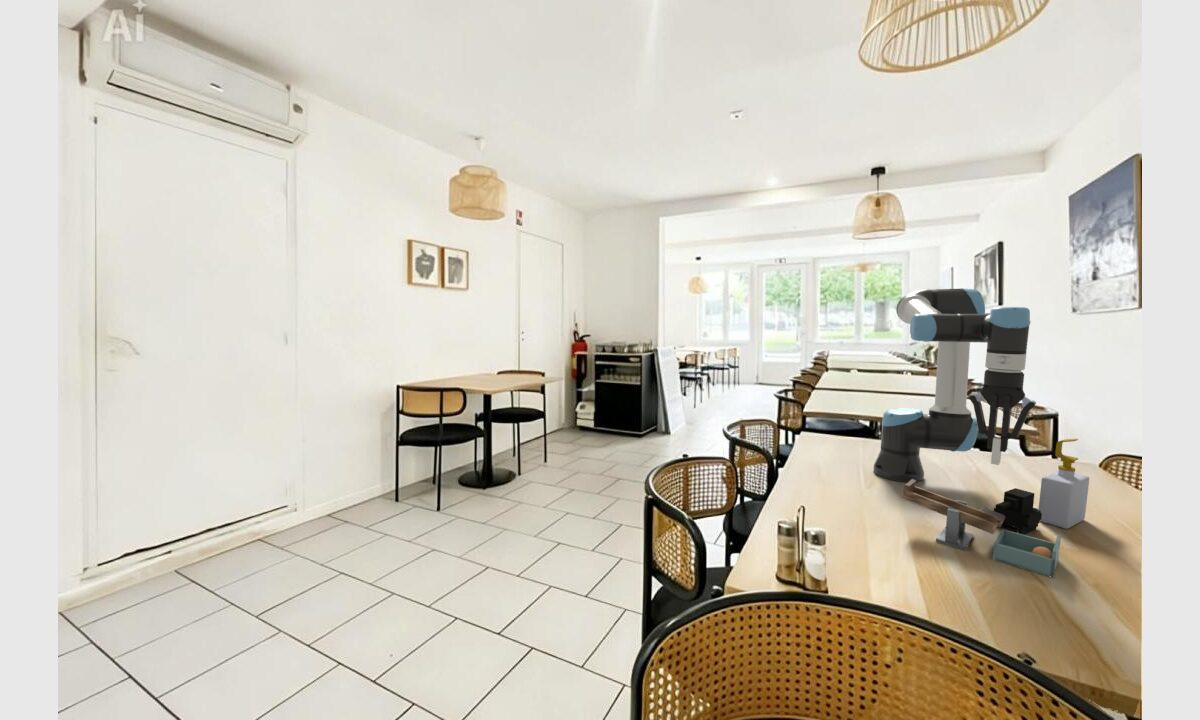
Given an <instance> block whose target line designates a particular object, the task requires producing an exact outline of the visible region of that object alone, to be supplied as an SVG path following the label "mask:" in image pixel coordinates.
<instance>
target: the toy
mask: <svg viewBox="0 0 1200 720" xmlns="http://www.w3.org/2000/svg"><path fill="white" fill-rule="evenodd" d="M1003 493H1004V494H1003V501H1002V502H999V503H996V504H995V507H993V511H995V512H997V513H1000V514H1003V515H1004V516H1005V520H1004V521H1003V523H1002V525H1001V527H997V528H999V529H1000V528H1003V527H1005V526H1010V527H1013V528H1016V533H1019V534H1023V535H1027V534H1029V533H1032V532H1034V531H1037V527H1039V524H1040V522H1041V521H1040V520H1041V518H1042V513H1041V511H1040V510H1039V508H1036V507H1034V504H1035V502H1034V501H1035V493H1034V492H1030V491H1027V490H1025V489H1020V488H1012V489H1010V490H1006V491H1004V492H1003Z"/></svg>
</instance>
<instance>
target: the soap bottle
mask: <svg viewBox="0 0 1200 720" xmlns="http://www.w3.org/2000/svg"><path fill="white" fill-rule="evenodd" d="M1076 441H1077V442H1078V441H1079V439H1078V438H1065V439H1061V440H1059V441H1057V442H1056V444H1055V452H1054V453H1055V454H1054V455H1055V457H1057V458H1058V459H1060V461H1061V462H1062V464H1061V465H1058V467H1057V469H1058V470H1056V471H1054V472H1051V473H1049V474H1046V475H1043V476H1042V478H1041V484H1040V493H1039V502H1038V510H1040V511H1041V513H1042V518H1041V520H1040V522H1042V523H1045V524H1048V525H1049V524H1050V525H1052V526H1055V527H1059V528H1062V529H1070V528H1072V527H1073V526H1075V525H1077V524H1079V523H1081V522H1083V521H1084V520H1085V518H1086V511H1087V502H1088V494H1089V487H1090V486H1089V485H1090V476H1088V475H1085V474H1080V473H1075V472H1076V468H1075V467H1073V466H1072V465H1073V464H1075V463H1076V461H1078V460H1079V458H1078V457H1076V456H1071V455H1066V454H1063V453H1062V452H1063V451H1062V450H1063V443H1066V442H1067V443H1069V442H1076Z"/></svg>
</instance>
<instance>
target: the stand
mask: <svg viewBox="0 0 1200 720" xmlns="http://www.w3.org/2000/svg"><path fill="white" fill-rule="evenodd" d="M954 501H957V502H959V503H962V504H965V505H967V506H968V502H967V501H964V500H959V499H955V500H954ZM959 520H960V511H958V510H954V509H950V508H948V510H947V516H946V524H945V527H944V528H943V530H942V531H941V532H940V534H939V535H938V536H937V537H935V542H936V543H938V544H942V545H946V546H948V547H952V548H956V549H958V550H962V551H963V552H964V551H966V549H967V547H968V546H969V544H970V543H971V541H972V540H973V539H974V537H975V536H974V533H970V532H968V531H966V525H967V524H966V523H963V522H960V521H959Z"/></svg>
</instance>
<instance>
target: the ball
mask: <svg viewBox="0 0 1200 720" xmlns="http://www.w3.org/2000/svg"><path fill="white" fill-rule="evenodd" d="M1032 553H1033V554H1037V555H1040V556H1044V557H1047V558H1051V559H1052V552H1051V551H1050V550H1049V549H1047V548H1045V547H1036V548H1034V549H1033V551H1032Z"/></svg>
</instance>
